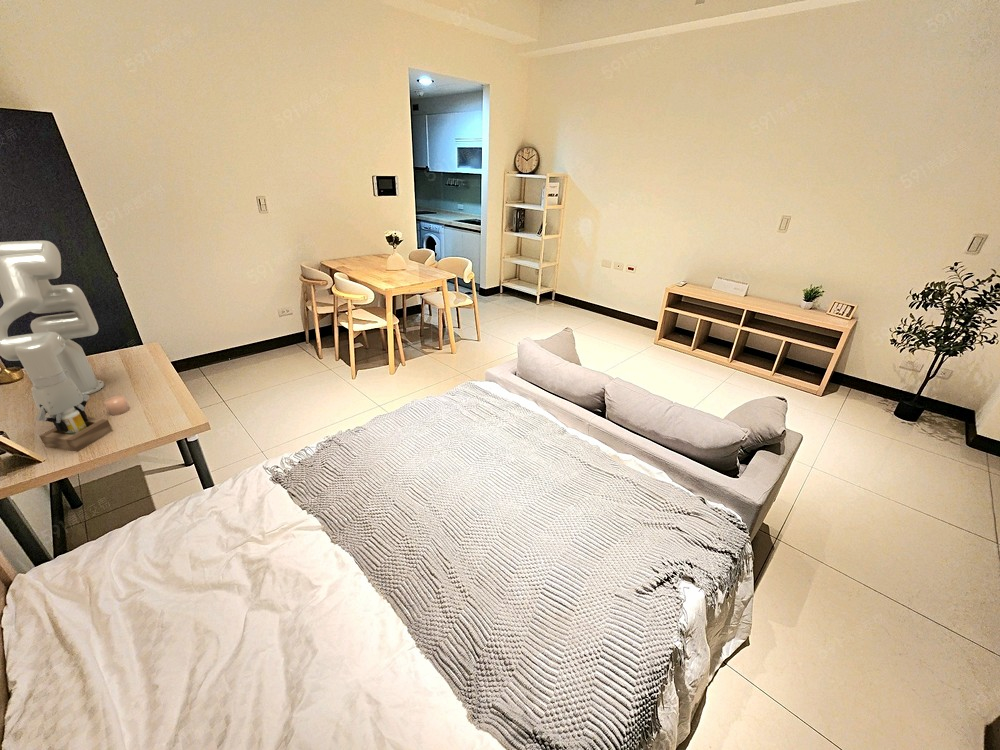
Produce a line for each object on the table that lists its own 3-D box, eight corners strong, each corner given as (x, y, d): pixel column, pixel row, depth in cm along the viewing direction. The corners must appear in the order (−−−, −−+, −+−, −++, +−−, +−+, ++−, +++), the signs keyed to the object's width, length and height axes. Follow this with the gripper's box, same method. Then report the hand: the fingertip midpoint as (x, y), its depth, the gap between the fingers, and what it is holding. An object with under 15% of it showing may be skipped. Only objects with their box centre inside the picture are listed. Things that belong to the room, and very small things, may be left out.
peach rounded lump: (104, 414, 154) (99, 402, 151) (119, 405, 159) (114, 394, 157) (118, 416, 153) (113, 405, 151) (133, 407, 158) (128, 396, 156)
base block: (45, 447, 136) (38, 435, 134) (83, 427, 147) (77, 415, 144) (78, 452, 135) (71, 440, 133) (113, 431, 146) (107, 419, 143)
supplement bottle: (67, 438, 136) (54, 414, 132) (64, 431, 139) (51, 407, 135) (89, 431, 140) (76, 407, 135) (86, 424, 143) (73, 401, 138)
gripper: (68, 365, 138) (90, 410, 146) (6, 390, 123) (34, 439, 131) (87, 368, 137) (109, 413, 145) (27, 393, 122) (54, 442, 130)
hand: (73, 425), depth 138 cm, fingers closed on supplement bottle, 5 cm apart
